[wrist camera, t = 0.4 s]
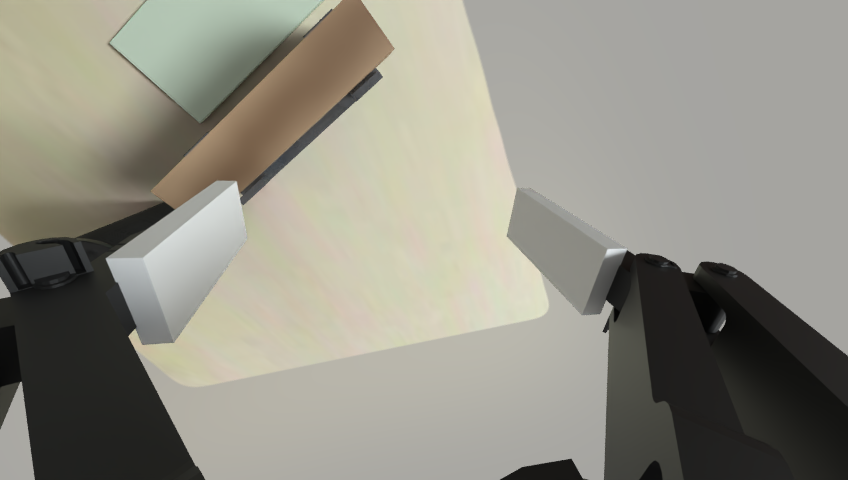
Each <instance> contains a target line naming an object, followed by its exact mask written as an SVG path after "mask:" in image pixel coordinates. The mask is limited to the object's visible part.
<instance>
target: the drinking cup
mask: <svg viewBox="0 0 848 480" xmlns="http://www.w3.org/2000/svg"><path fill="white" fill-rule="evenodd" d="M174 210H175V209H174V208H172V207H171V206H170V205H168V204H167V203H165V202H164V203H162V204H159V205H157V206H154V207H152V208H149V209H147V210H144V211H142V212H139V213H137V214H134V215H132V216H129V217H127V218H124V219H122V220H119V221H117V222H114V223H112V224H109V225H107V226H104V227H102V228H99V229H97V230H94V231H92V232H89V233H87V234H84V235H82V236H79V237H77V238H76V239H77V240H79V241H81V243H82V246H83V248H84V250H85V252H86V254H87V257H88V259H89V261H90V262H92V261H93V260H95V259H96V258H98V257H99V256H101V255H102V254H104V253H105V252H108V250H109V249H111V248H112V247H114V246H115V245H118V243H120V242H121V241H123V240H124V239H126V238H127V237H129V236H130V235H133V234H135V233H138V232H141V231H143V230H146V229H148V228H150V227H151V226H153V225H154V224H156V223H157V222H158V221H160V220H161V219H163V218H164V217H166V216H167V215H168V214H170V213H171V212H173V211H174Z"/></svg>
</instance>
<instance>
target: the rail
mask: <svg viewBox="0 0 848 480" xmlns="http://www.w3.org/2000/svg"><path fill="white" fill-rule="evenodd" d="M393 50H394V47H393V46H392V44H391V43H390V42H389V40H388V39H387V37H386V36H385V34H384V33H383V31H382V30H381V29H380V27H379V26H378V24H377V23H376V21H375V20H374V19H373V17H372V16H371V14H370V13H369V11H368V10H367V9H366V7H365V6H364V4H363V3H362V1H361V0H342V1H341V2H340V3H339V4H338V5H337V6H336V7H335V8H334V9H333V10H332V11H331V12H330V13H329V14H328V15H327V16H326V17H325V18H324V19H323V20H322V21H321V22H320V23H319V24H318V25H317V26H316V27H315V28H314V29H313V30H312V31H311V32H310V33H309V34H308V35H307V36H306V37H305V38H304V39H303V40H302V41H301V42H300V43H299V44H298V45H297V46H296V47H295V48H294V49H293V50H292V51H291V52H290V53H289V54H288V55H287V56H286V57H285V58H284V59H283V60H282V61H281V62H280V63H279V64H278V65H277V66H276V67H275V68H274V69H273V70H272V71H271V72H270V73H269V74H268V75H267V76H266V77H265V78H264V79H263V80H262V81H261V82H260V83H259V84H258V85H257V86H256V87H255V88H254V89H253V90H252V91H251V92H250V93H249V94H248V95H247V96H246V97H245V98H244V99H243V100H242V101H241V102H240V103H239V104H238V105H237V106H236V107H235V108H234V109H233V110H232V111H231V112H230V113H229V114H228V115H227V116H226V117H225V118H224V119H223V120H222V121H221V122H220V123H218V124H217V125H216V126H215V127H214V128H213V129H212V130H211V131H210V132H209V133H208V134H207V135H206V136H205V137H204V138H203V139H202V140H201V141H200V142H199V143H198V144H197V145H196V146H195V147H194V148H193V149H192V150H191V151H190V152H189V153H188V154H187V155H186V156H185V157H184V158H183V159H182V160H181V161H180V162H179V163H178V164H177V165H176V166H175V167H174V168H173V169H172V170H171V171H170V172H169V173H168V174H167V175H166V176H165V177H164V178H163V179H162V180H161V181H160V182H159V183H158V184H157V185H156V186H155V187H154V188H153V189H152V190H151V191H150V192H152V193H153V194H154V195H156V196H157V197H159V198H160V199H161V200H163V201H164V202H165V203H167V204H168V205H170V206H171V207H172V208H174V209H177V208H178V207H180V206H181V205H183V204H184V203H185V202H187V201H188V200H190V199H191V198H193V197H194V196H195V195H197V194H198V193H200V192H201V191H203V190H204V189H205V188H207V187H208V186H210V185H211V184H213V183H214V182H215V181H237V186H238V191H239V194H240V193H241V192H242V191H243V190H244V189H245V188H246V187H248V186H249V185H250V184H251V183H252V182H253V181H254V180H255V179H256V178H257V177H258V176H259V175H261V174H262V173H263V172H264V171H265V170H266V169H267V168H268V167H269V166H270V165H271V164H272V163H273V162H275V161H276V160H277V159H278V158H279V157H280V156H281V155H282V154H283V153H284V152H285V151H286V150H287V149H289V148H290V147H291V146H292V145H293V144H294V143H295V142H296V141H297V140H298V139H299V138H300V137H301V136H303V135H304V134H305V133H306V132H307V131H308V130H309V129H310V128H311V127H312V126H313V125H314V124H315V123H317V122H318V121H319V120H320V119H321V118H322V117H323V116H324V115H325V114H326V113H327V112H328V111H330V110H331V109H332V108H333V107H334V106H335V105H336V104H337V103H338V102H339V101H340V100H341V99H342V98H344V97H345V96H346V95H347V94H348V93H349V92H350V91H351V90H352V89H353V88H354V87H355V86H356V85H358V84H359V83H360V82H361V81H362V80H363V79H364V78H365V77H366V76H367V75H368V74H369V73H370V72H372V71H373V70H374V69H375V68H376V67H377V66H378V65H379V64H380V63H381V62H382V61H383V60H384V59H386V58H387V57H388V56H389V55H390V53H391V52H392V51H393Z"/></svg>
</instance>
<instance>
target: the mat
mask: <svg viewBox="0 0 848 480" xmlns="http://www.w3.org/2000/svg"><path fill="white" fill-rule="evenodd" d="M323 1H324V0H147V1H146V2H145V3H144V4H143V5H142V6H141V8H140V9H139V10H138V11H137V12H136V13H135V14H134V16H133V17H132V18H131V19H130V20H129V21H128V22H127V23H126V25H125V26H124V27H123V28H122V29H121V30H120V31H119V33H118V34H117V35H116V36H115V37H114V38H113V39H112V41H111V42H110V44H111V45H112V46H113V47H114V48H116V49H117V50H118V51H119V52H120V53H121V54H122V55H123V56H125V57H126V58H127V59H128V60H129V61H130V62H131V63H132V64H134V65H135V66H136V67H137V68H138V69H139V70H140V71H141V72H143V73H144V74H145V75H146V76H147V77H148V78H149V79H150V80H152V81H153V82H154V83H155V84H156V85H157V86H158V87H159V88H161V89H162V90H163V91H164V92H165V93H166V94H167V95H168V96H170V97H171V98H172V99H173V100H174V101H175V102H176V103H177V104H179V105H180V106H181V107H182V108H183V109H184V110H185V111H186V112H188V113H189V114H190V115H191V116H192V117H193V118H194V119H195V120H197V121H198V122H199V123H202V122H203V121H204V120H205V119H206V118H207V117H208V116H209V115H210V114H211V113H212V112H213V111H214V110H215V109H216V108H217V107H218V106H219V105H220V104H221V103H222V102H223V101H224V100H225V99H226V98H227V97H228V96H229V95H230V94H231V93H232V92H233V91H234V90H235V89H236V88H237V87H238V86H239V85H240V84H241V83H242V82H243V81H244V80H245V79H246V78H247V77H248V76H249V75H250V74H251V73H252V72H253V71H254V70H255V69H256V68H257V67H258V66H259V65H260V64H261V63H262V62H263V61H264V60H265V59H266V58H267V57H268V56H269V55H270V54H271V53H272V52H273V51H274V50H275V49H276V48H277V47H278V46H279V45H280V44H281V43H282V42H283V41H284V40H285V39H286V38H287V37H288V36H289V35H290V34H291V33H292V32H293V31H294V30H295V29H296V28H297V27H298V26H299V25H300V24H301V23H302V22H303V21H304V20H305V19H306V18H307V17H308V16H309V15H310V14H311V13H312V12H313V11H314V10H315V9H316V8H317V7H318V6H319V5H320V4H321V3H322V2H323Z"/></svg>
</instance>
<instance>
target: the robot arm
mask: <svg viewBox="0 0 848 480" xmlns="http://www.w3.org/2000/svg"><path fill="white" fill-rule="evenodd" d="M507 237H508V238H509V239H510V240H511V241H512V242H513V243H514V244H515V245H516V246H517V247H518V249H519V250H520V251H521V252H522V253H523V254H524V255H525V256H526V257H527V258H528V259H529V260H530V261H531V262H532V263H533V264H534V265H535V266H536V267H537V268H538V269H539V271H540V272H541V273H542V274H543V275H544V276H545V277H546V278H547V279H548V280H549V281H550V282H551V283H552V284H553V285H554V286H555V287H556V288H557V289H558V290H559V292H561V294H562V295H563V296H564V297H565V298H566V299H567V300H568V301H569V302H570V303H571V304H572V305H573V306H574V307H575V308H576V309H577V310H578V311H579V312H580V314H581V315H592V314H600V313H601V311H602V308H603V306H604V304H605V301H606V300H607V301H608V302H609V303H611V305H613V306H614V307H613V309H612V311H611V314H610V316H609V318H608V320H607V323H606V325H605V327H604V330H603V332H605V333H606V332H607V330H609V349H608V379H607V408H606V439H605V470H604V480H848V356H847V355H846V354H845V353H843V352H842V351H841V350H839V349H838V348H837V347H836V346H835V345H833V344H832V343H831V342H830V341H828V340H827V339H826V338H825V337H823V336H822V335H821V334H819V333H818V332H817V331H816V330H814V329H813V328H812V327H811V326H809V325H808V324H807V323H806V322H804V321H803V320H802V319H801V318H799V317H798V316H797V315H796V314H794V313H793V312H792V311H791V310H789V309H788V308H787V307H786V306H784V305H783V304H782V303H780V302H779V301H778V300H777V299H776V298H774V297H773V296H772V295H771V294H769V293H768V292H767V291H766V290H764V289H763V288H762V287H761V286H759V285H758V284H757V283H756V282H754V281H753V280H752V279H751V278H749V277H748V276H747V275H745V274H744V273H742V272H740V271H738V270H737V269H735V268H734V267H731V266H729V265H726V264H723V263H714V262H701V263H700V264H699V266H698V268H697V270H696V271H695V273H694V274H692V273H686V272H682V271H681V269H680V268H679V266H678V265H677V264H676V263H674V262H672V261H670V260H668V259H666V258H664V257H662V256H659V255H652V254H646V253H640V254H636V255H634V254H632V253H631V252H629V251H628V250H627V248H626V247H624V246H623V245H621V244H619V243H618V242H616V241H615V240H613V239H611V238H610V237H608V236H606V235H605V234H603V233H602V232H600V231H599V230H597V229H595V228H594V227H592V226H590V225H589V224H587V223H585V222H584V221H583V220H581V219H579V218H578V217H576V216H574V215H573V214H571V213H570V212H568V211H566V210H565V209H563V208H562V207H560V206H558V205H557V204H555V203H554V202H552V201H550V200H549V199H547V198H546V197H544V196H542V195H541V194H539V193H538V192H536V191H534V190H533V189H531V188H517V192H516V196H515V201H514V205H513V210H512V214H511V219H510V224H509V228H508V233H507ZM247 239H248V238H247V233H246V228H245V222H244V217H243V212H242V207H241V201H240V196H239V191H238V186H237V181H215V182H214V183H213V184H211V185H210V186H208V187H207V188H205V189H204V190H203V191H201V192H200V193H198V194H197V195H195V196H194V197H193V198H191V199H190V200H188V201H187V202H185V203H184V204H183V205H181V206H180V207H178V208H177V209H175V210H174V211H173V212H171V213H170V214H168V215H167V216H166V217H164V218H163V219H161V220H160V221H158V222H157V223H156V224H154V225H153V226H151V227H150V228H148V229H146V230H143V231H141V232H138V233H135V234H133V235H130V236H129V237H127V238H126V239H124V240H123V241H121V242H120V243H118V245H115V246H114V247H112V248H111V249H109V250H108V252H105V253H104V254H102V255H101V256H99V257H98V258H96V259H95V260H93V261H92V262H90V261H89V259H88V257H87V254H86V252H85V250H84V248H83V246H82V243H81V241H79V240H77V239H76V238H68V237H60V238H48V239H41V240H35V241H31V242H26V243H22V244H18V245H15V246H13V247H10V248H7V249H4V250H2V251H1V252H0V277H1V279H2V281H3V282H4V284H5V285H6V287H7V289H8V290H9V292H10V294H11V297H8V298H2V299H0V429H1V426H2V424H3V421H4V419H5V417H6V414H7V412H8V409H9V407H10V405H11V402H12V400H13V398H14V395H15V393H16V390H17V388H18V386H19V383H20V382H22V386H23V393H24V401H25V408H26V416H27V424H28V431H29V438H30V446H31V454H32V461H33V469H34V476H35V480H205V479H204V477H203V475H202V473H201V471H200V470H199V468H198V467H196V466H195V464H194V462H193V460H192V458H191V457H190V455H189V453H188V451H187V449H186V447H185V445H184V443H183V441H182V439H181V437H180V435H179V434H178V432H177V430H176V428H175V426H174V424H173V422H172V420H171V418H170V416H169V414H168V412H167V410H166V409H165V407H164V405H163V403H162V401H161V399H160V397H159V395H158V393H157V391H156V389H155V387H154V385H153V384H152V382H151V380H150V378H149V376H148V374H147V372H146V370H145V368H144V366H143V364H142V362H141V361H140V359H139V357H138V355H137V353H136V351H135V349H134V347H133V345H132V343H131V341H130V339H129V337H128V336H129V335H130V334H131V333H132V331H133V330H134V329H136V331H137V333H138V336H139V338H140V340H141V343H142V345H146V344H161V343H174V342H175V340H176V339H177V338H178V336H179V335H180V333H181V332H182V330H183V329H184V328H185V326H186V325H187V323H188V322H189V321H190V319H191V318H192V316H193V315H194V314H195V312H196V311H197V309H198V308H199V306H200V305H201V304H202V302H203V301H204V299H205V298H206V297H207V295H208V294H209V292H210V291H211V289H212V288H213V287H214V285H215V284H216V282H217V281H218V280H219V278H220V277H221V275H222V274H223V272H224V271H225V270H226V268H227V267H228V265H229V264H230V263H231V261H232V260H233V258H234V257H235V255H236V254H237V253H238V251H239V250H240V248H241V247H242V246H243V244H244V243H245V241H246V240H247ZM725 319H726V322H725V325H724V327H723V328H722V330H721V331H719V328H720V327H721V325H722V324H723V322H724V320H725ZM500 480H587V479H583V478H582V477H581V475H580V473H579V471H578V470H577V468H576V466H575V464H574V462H573V461H572V459H568V460H561V461H556V462H549V463H544V464H539V465H532V466H526V467H522V468H520V469H518V470H516V471H515V472H513V473H511V474H509V475H507V476H506V477H504V478H502V479H500Z"/></svg>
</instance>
